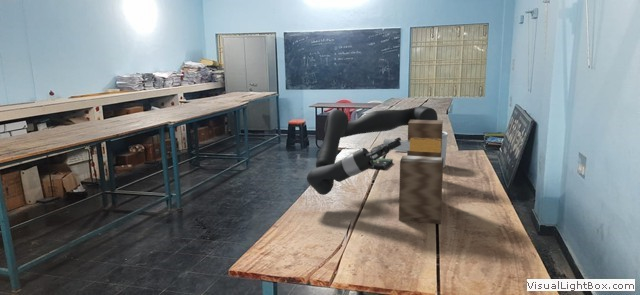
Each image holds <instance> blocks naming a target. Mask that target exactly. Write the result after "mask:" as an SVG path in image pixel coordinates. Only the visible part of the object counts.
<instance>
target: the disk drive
mask: <svg viewBox="0 0 640 295" xmlns="http://www.w3.org/2000/svg"><path fill="white" fill-rule="evenodd" d="M373 162H374V166H373V167H371V168H369V169H371V170H378V171H379V170H382V171H385V170H387V168H389V167H390V166H391V165H392V164H393V159H392V158H383V157H380V158H379V159H377V160H375V161H374V160H373Z"/></svg>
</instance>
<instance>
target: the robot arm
mask: <svg viewBox="0 0 640 295" xmlns="http://www.w3.org/2000/svg"><path fill="white" fill-rule="evenodd" d="M410 120H439V119H438V113H437V111H436V110H435V109H434V108H433V107H428V106H423V105H420V106H414V107H411V108H406V109H405V108H404V109H382V110H375V111H371V112H368V113H366V114H364V115H363V116H360V117H359V118H357V119H354V120H350V121H349V117H348V115H347V113H346V112H345V111H343V110H341V109H333V110H331V111H330V112H329V113H328V114H327V116H326V119H325V123H324V124H325V125H324V128H323V129H324V134H325V136H324V138H323V141H322V144H321V146H320V149H319V152H318V155H317V159H316V161H315V168H313V169H311V170H310V171H309V172H308V174H307V175H306V181H307V183H308V184H309V185H310V186H311V187H312V189H313V190H314V191H315V192H317V193H318V194H319V195H322V196H325V195H327V194H329V193H330V192H331V191H332V190H333V188H334V182H335V181H336V182H343V181H345V180H347V179H350V178H351V177H353V176H354V177H355V176H356V175H359V174H361V173H363V172H365V171H367V170H369V169H370V168H371V167H373V166H374V162H373V160H374V161H375V160H377V159H379V158H383V157H384V156H386V155H387V154H389V153H391V151H392V150H391V149H394V148H396V147H398V146H400V145H401V143H400V141H399V140H402V139H401V137H397V138H395V139H394V140H395V141H393V142H391V143H389V145H388V144H386V145H385V146H383V144H384V143H381V144H379V145H377V146H374V147H372V148H371V149H370V151H369V150H368V149H367V148H366V147H362V148H360V149H359V150H357V151H355V152H353V153H351V154H349V155H346V156H345V157H344V158H342V159H340V160H339V161H337V160H336V159H337V157H338V156H337V155H338V149H339V145H340V141H341V138H342V139H343V138H347V137H351V136H356V135H362V134H369V133H380V132H387V131H388V132H389V131H392V130H395V129H397V128H399V127H404V126H408V122H409V121H410Z"/></svg>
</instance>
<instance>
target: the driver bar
mask: <svg viewBox="0 0 640 295" xmlns="http://www.w3.org/2000/svg"><path fill="white" fill-rule="evenodd" d="M393 141H395V139H386V138H385V139H384V140H383V143H382V144H383V146H385V145H386V144H388V145H389V143H391V142H393ZM399 141H400V143H401V145H400V146H398V147H396V148H394V149H391V151H397V150H404V151H417V152H436V153H440V152H441V139H438V138H415V137H411V139H410V140H408V139H407V140H406V139H405V140H404V139H401V140H399Z"/></svg>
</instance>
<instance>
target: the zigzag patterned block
mask: <svg viewBox="0 0 640 295" xmlns="http://www.w3.org/2000/svg"><path fill="white" fill-rule="evenodd" d="M443 122H444V121H443V120H442V119H441V120H439V119H438V120H410V121H409V122H408V125H407V140H410V139H411V137H415V138H438V139H441V150H442V131H443V127H444V126H443ZM406 153H407V155H402V156H401V159H400V160H399V189H398V190H399V194H398V198H399V199H398V204H399V205H398V221H402V222H405V221H406V222H412V221H413V223H414V222H415V223H422V224H423V223H425V224H434V225H435V224H437V225H441V221H442V205H443V204H442V203H443V179H444V168H443V160H444V158H442V157H441V152H440V153H436V152H417V151H407V152H406Z"/></svg>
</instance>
